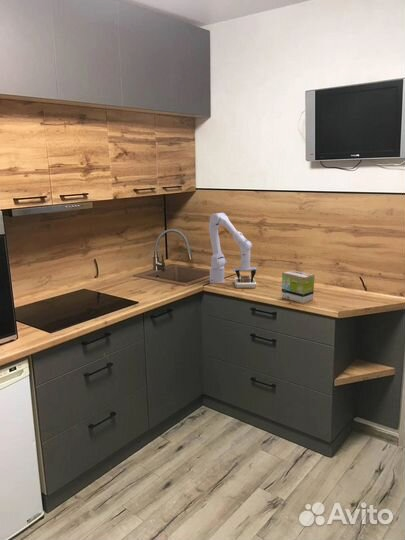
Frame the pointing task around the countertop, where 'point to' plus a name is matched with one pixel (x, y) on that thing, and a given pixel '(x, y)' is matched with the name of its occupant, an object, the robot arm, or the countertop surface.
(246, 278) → the walnut block
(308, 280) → the tea box
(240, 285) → the white tray
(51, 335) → the countertop surface
